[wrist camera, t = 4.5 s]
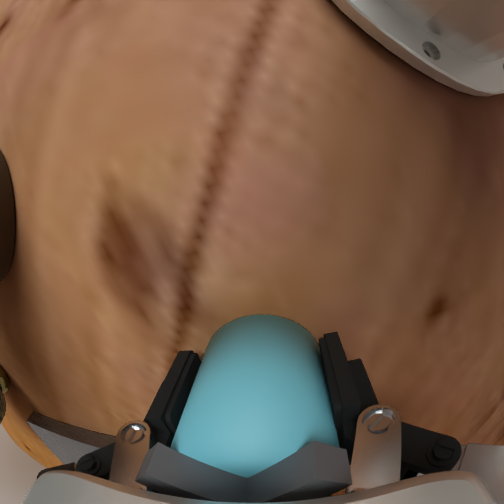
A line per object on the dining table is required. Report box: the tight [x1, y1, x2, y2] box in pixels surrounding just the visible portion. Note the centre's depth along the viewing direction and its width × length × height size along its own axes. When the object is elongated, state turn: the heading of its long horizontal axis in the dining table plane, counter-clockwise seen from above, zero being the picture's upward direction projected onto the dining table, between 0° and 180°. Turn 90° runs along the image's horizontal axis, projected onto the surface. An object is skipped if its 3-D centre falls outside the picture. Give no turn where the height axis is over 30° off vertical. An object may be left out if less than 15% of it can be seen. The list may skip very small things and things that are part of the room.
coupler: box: [135, 315, 353, 503], centre depth 8 cm, size 5×5×7 cm
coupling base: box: [26, 412, 116, 464], centre depth 14 cm, size 20×13×4 cm, turn 101°
